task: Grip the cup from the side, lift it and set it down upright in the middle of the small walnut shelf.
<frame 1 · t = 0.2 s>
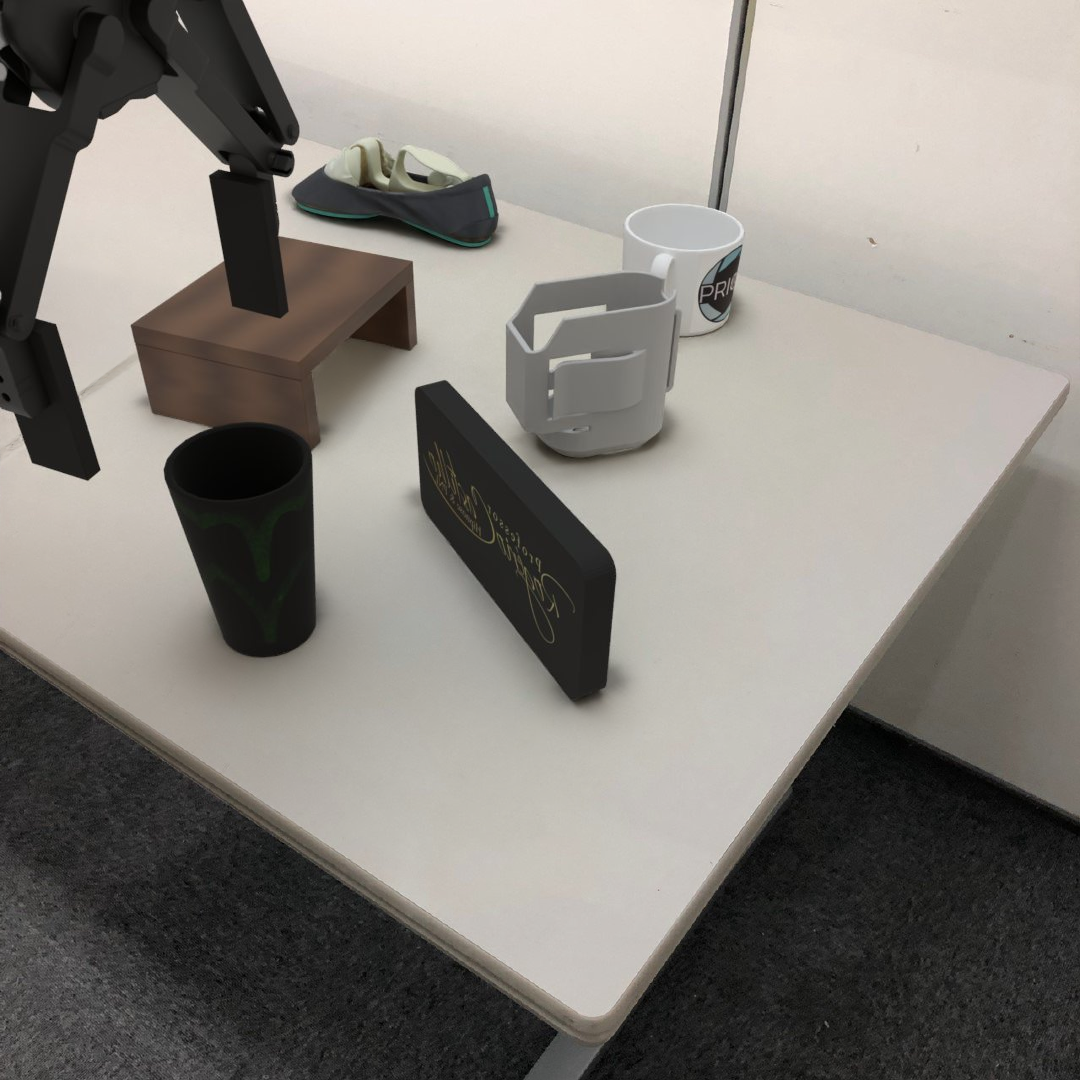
hand: (173, 380, 46), 20 cm above the table, tool pointing down, fingers open, 13 cm apart
mug: (670, 320, 96), on the table
cup: (269, 626, 64), on the table
nameplate: (504, 594, 67), on the table
ballet flat: (395, 222, 112), on the table
cable organizer: (581, 443, 80), on the table
shelf: (291, 375, 86), on the table
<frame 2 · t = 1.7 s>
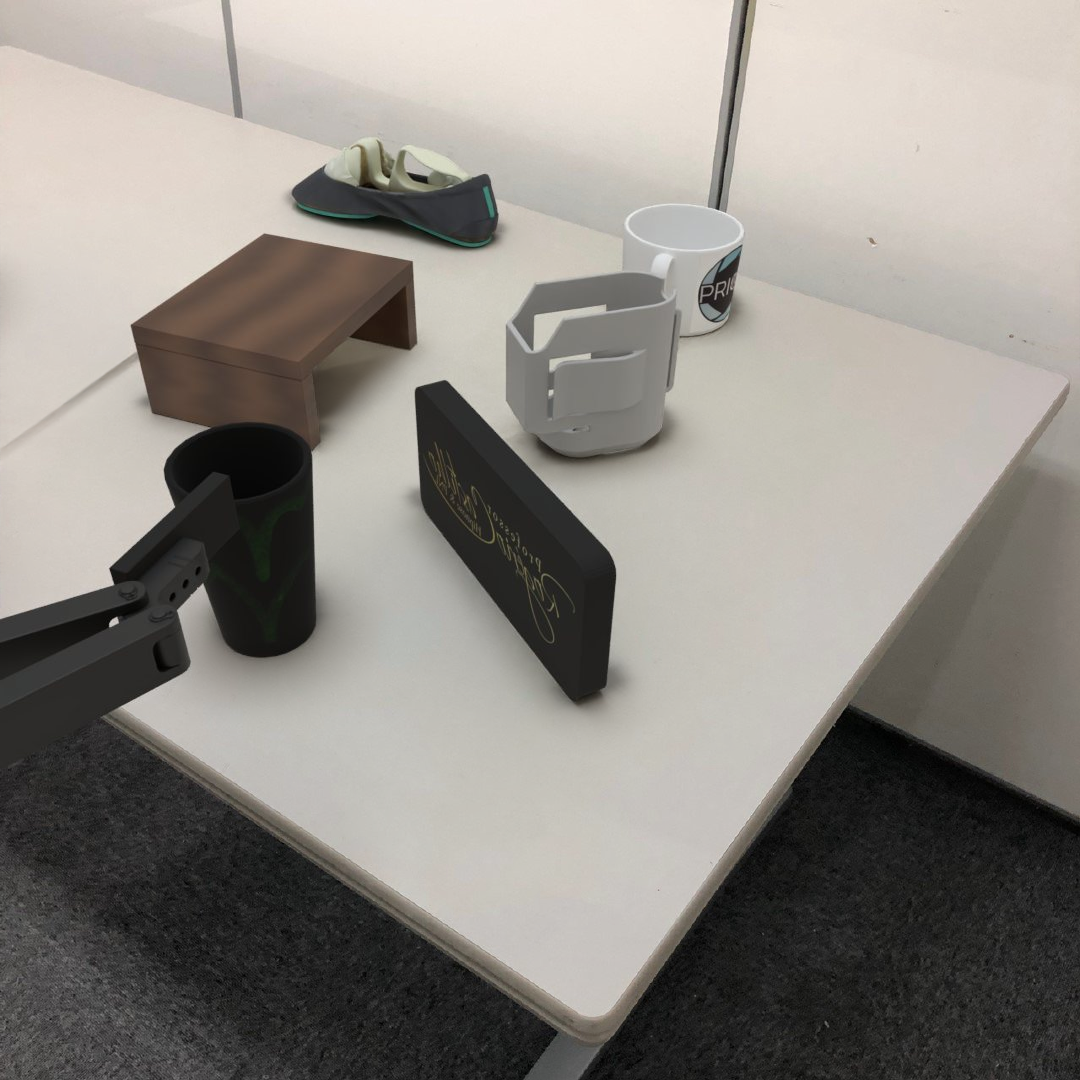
hand: (91, 464, 45), 18 cm above the table, tool horizontal, fingers open, 13 cm apart
nothing on the table moved.
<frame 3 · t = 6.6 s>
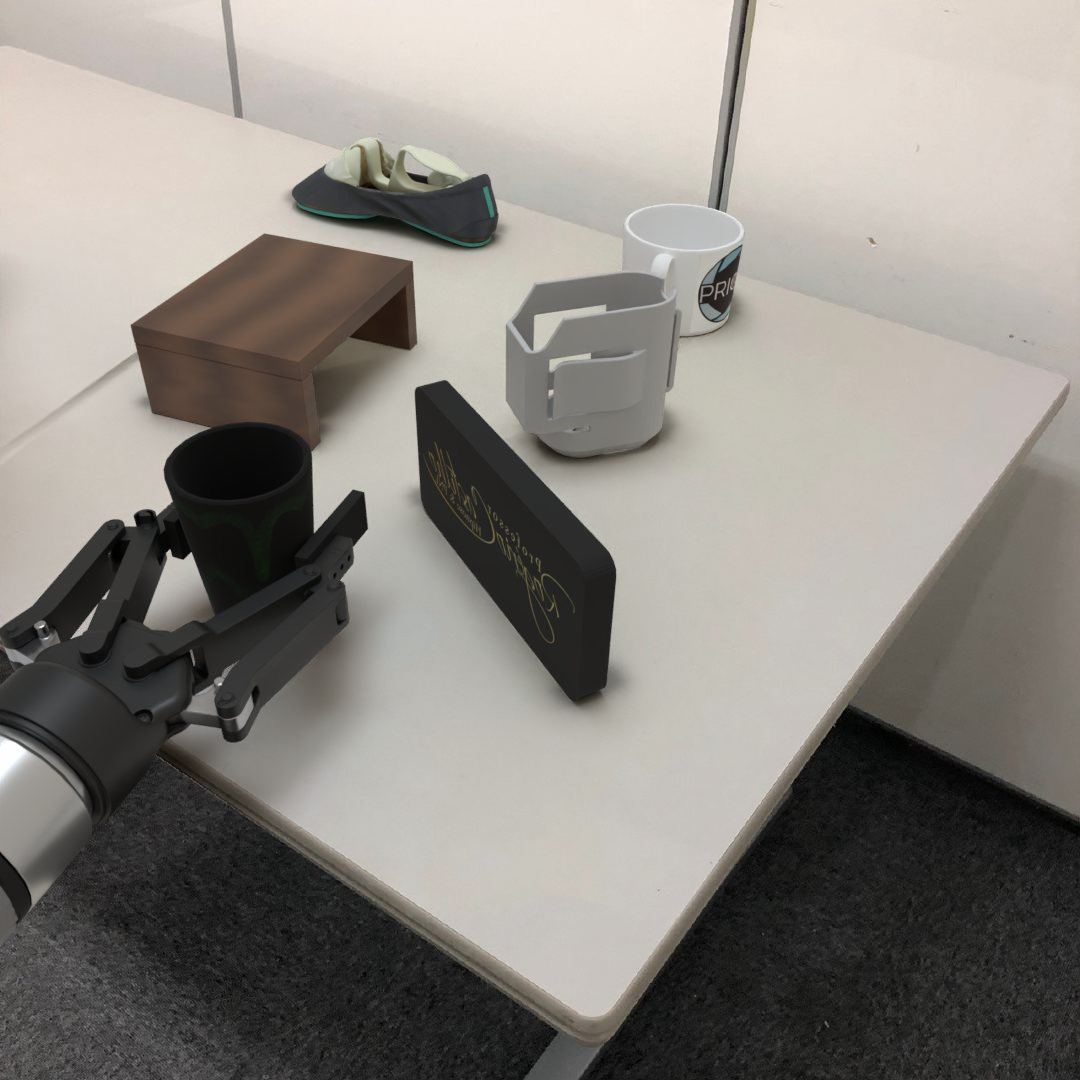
hand: (297, 493, 63), 6 cm above the table, tool horizontal, fingers closed on cup, 8 cm apart
cup: (269, 626, 64), on the table, touching gripper
everything else where it was.
when the fingers open (14 cm above the table, at t = 14.2 s): cup stays where it is, resting on shelf.
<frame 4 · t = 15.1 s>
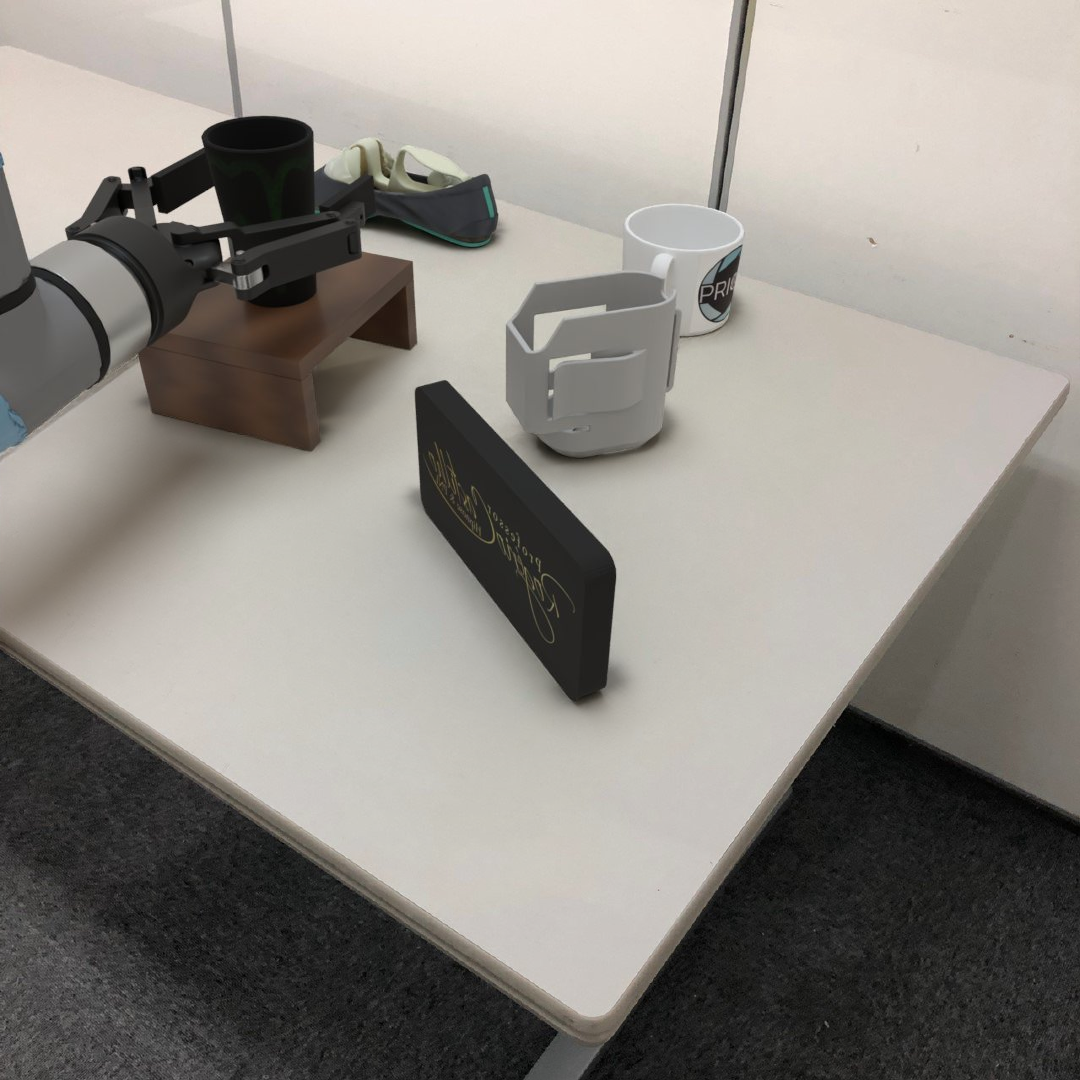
hand: (289, 178, 79), 15 cm above the table, tool horizontal, fingers open, 13 cm apart
cup: (280, 293, 82), point 7 cm above the table, touching shelf
everything else where it was.
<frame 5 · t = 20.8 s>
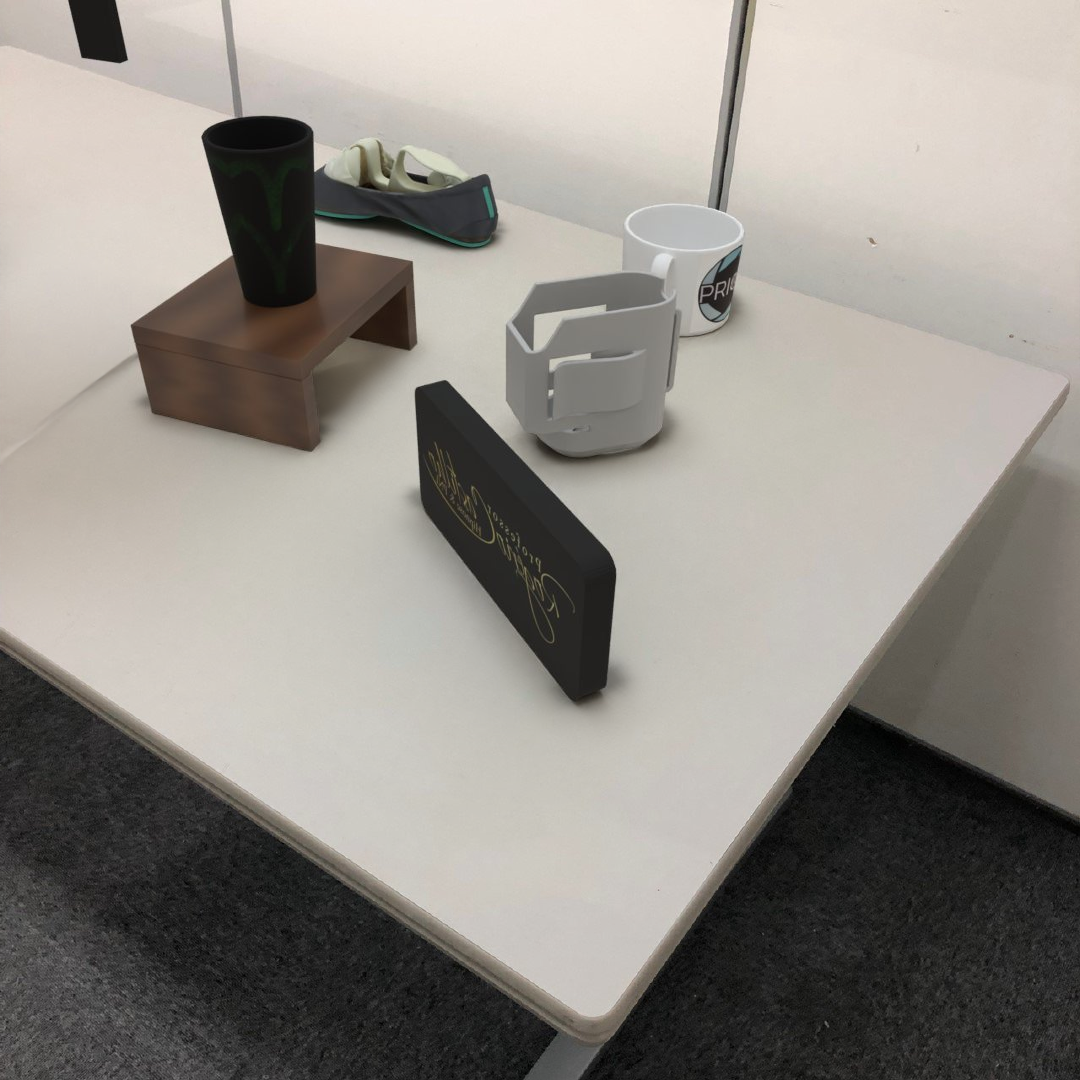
hand: (22, 91, 57), 27 cm above the table, tool pointing down, fingers open, 13 cm apart
nothing on the table moved.
at the end: cup inside the target area on the shelf (0.1 cm from its centre), point 7.3 cm above the shelf's base; cup tilted 0°; the gripper is holding nothing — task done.
